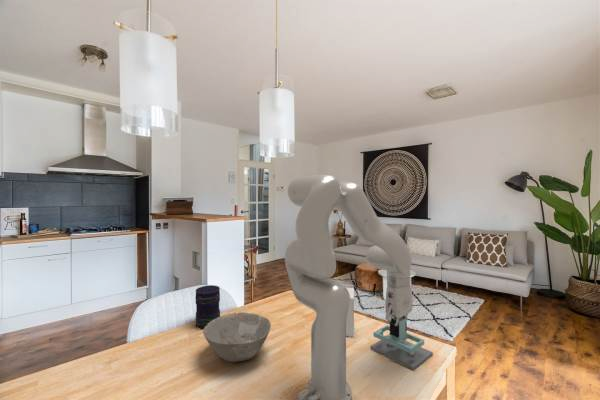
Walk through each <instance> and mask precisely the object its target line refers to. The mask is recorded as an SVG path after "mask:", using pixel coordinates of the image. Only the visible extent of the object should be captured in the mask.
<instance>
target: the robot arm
mask: <svg viewBox="0 0 600 400" xmlns="http://www.w3.org/2000/svg"><path fill="white" fill-rule="evenodd" d="M287 195H288V199H289V200H290V201H291V203H293V204H294V205H295V206H297V207H300V209H299V211H298V213H297V217H296V221H295V233H296V237H297V239H294V240H292V241H291V242H290V243H289V244H288V246H287V247H286V249H285V253H284V264H285V268H286V272H287V275H288V281H289V284H290V286H291V290H292V293H293V295H294V297H295V300H297V301H298V303H301V305H303V306H305V307H307V308H308V309H311V310H313V311H314V312H315V313H316V315H315V319H314V320H313V322H312V325H311V328H310V379H308V380H307V381H308V383H307V384H306V386H305V389H303V390H301V391H299V392H298V393H297V395H296V396H297V399H298V400H352V399H353V392H352V389H351V386H350V385H349V384H348V383H347V336H346V321H347V314H348V309H349V304H350V295H349V292H348V290H347V288H346V287H345V286H344V285H345V284H344V285H343V283H341V282H339V281H338V280H336V279H332V277H333V276H334V274H335V272H336V269H337V261H336V255H335V250H334V246H333V242H332V237H331V234H330V228H329V222H330V221H329V220H330V216H331V214H332V211H339V212H341V214H342V215H343V217H344V219H345V220H346V222H347V224H348V225H349V227H350V229H351V230H352V232H353V233H354V235H356V237H359V238H360V239H362V240H364V241H366V242H368V243H370V244H372V246H371V247H369V248H368V250H367V251H366V253H365V259H366V262H367V264H368V265H369V266H371V267H373V268H375V269H380V270H382V271H386V292H385V303H384V305H385V314H386V315H385V317H384V318H385V319H384V320H387V321H388V324H389V326H390V331H389V334H390V335H393V336H395V337H397V338H398V337H399V325H398V319H399V318H401V317H403V318H405V319H406V333H408V332H407V329H408V328H407V321H408V316H409V314H410V313H411V312H412V311H413V295H412V294H413V293H412V286H411V267H412V260H413V259H412V255H411V248H410V246H409V245H407V244H406V243H405V240H404V239H403V238H402V237H401V236H400V235H399V234H398V233H397V232H396V231H395V230H393V229H392V228H391V227H390V226H389V225H387V224H386V223H385V222H384V221H382V220H381V219H379V217H378V216H377V213H376V212H375V210H374V208H373V206H372V204H371V203H370V200H369V199H368V197H367V195H366V193H365V192H364V190H363V188H362V187H361V185H359V184H358V183H357V182H353V181H340V180H339V179H338V178H337V177H336V176H334V175H330V174H316V175H314V174H313V175H305V176H298V177H295V178H294V179H292V180H291V181H290V183H289V185H288V187H287ZM393 317H395V320H394V319H393Z"/></svg>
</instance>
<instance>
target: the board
mask: <svg viewBox="0 0 600 400" xmlns="http://www.w3.org/2000/svg"><path fill="white" fill-rule="evenodd" d="M387 335H388V334H386V335H385V336H387ZM411 343H412V342H410V341H407V340H405V341H404V344H405V345H407V346H408V345H410V344H411ZM413 344H414V345H415V344H416V343H413ZM369 349H370V350H371V351H373V352H375V353H377V354H379V355H381V356H384V357H385V358H388V359H389V360H391V361H393V362H396V363H398V364H400V365H401V366H403V367H406V368H407V369H410V370H411V371H413V372H414V371H416V370H417V368H419V367H420V366H421V365H423V364H424V363H425V362H426V361H427V360H428V359H430V358H431V357H432V356H433V355H434V354H433V353H434V352H433V351H431V350H429V349H426V348H423V347H422V346H421V347H420V348H418V349H417V350H416V351H414V352H413V353H412V354H411V353H409V352H406V351H404V350H402V349H400V348H398V347H396V346H393V345H391V344H389V343H387V342H385V341H383V340H380V339H379V341H377V342H375V343H373V344H372V345H370V347H369Z"/></svg>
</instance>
